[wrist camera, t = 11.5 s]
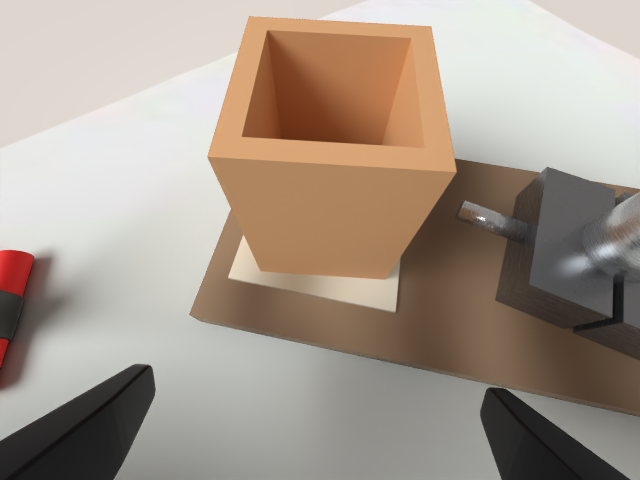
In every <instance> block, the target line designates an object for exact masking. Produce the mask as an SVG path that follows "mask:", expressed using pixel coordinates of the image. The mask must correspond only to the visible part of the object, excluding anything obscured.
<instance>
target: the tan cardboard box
mask: <svg viewBox="0 0 640 480" xmlns="http://www.w3.org/2000/svg"><path fill="white" fill-rule="evenodd" d="M207 157H208V159H209V161H210V164H211V166H212V168H213V170H214V172H215V174H216V176H217V179H218V181H219V183H220V185H221V187H222V189H223V192H224V194H225V196H226V198H227V200H228V202H229V205H230V207H231V209H232V211H233V213H234V215H235V217H236V220H237V222H238V224H239V226H240V228H241V230H242V233H243V235H244V237H245V239H246V241H247V243H248V246H249V248H250V250H251V252H252V254H253V256H254V258H255V261H256V263H257V265H258V267H259V269H260V271H261V272H275V273H291V274H306V275H321V276H336V277H351V278H367V279H382V280H385V279H386V278H387V276H388V275H389V273H390V272H391V270H392V269H393V267H394V266H395V264H396V263H397V261H398V260H399V258H400V257H401V255H402V254H403V252H404V251H405V249H406V248H407V246H408V245H409V243H410V242H411V240H412V239H413V237H414V236H415V234H416V233H417V231H418V230H419V228H420V227H421V225H422V224H423V222H424V221H425V219H426V218H427V216H428V215H429V213H430V212H431V210H432V209H433V207H434V206H435V204H436V203H437V201H438V200H439V198H440V197H441V195H442V194H443V192H444V191H445V189H446V188H447V186H448V185H449V183H450V181H451V180H452V178H453V177H454V175H455V174H456V172H457V170H456V165H455V159H454V153H453V148H452V142H451V136H450V131H449V125H448V119H447V113H446V108H445V102H444V96H443V91H442V85H441V79H440V74H439V68H438V62H437V56H436V51H435V45H434V39H433V34H432V28H431V26H414V25H396V24H378V23H360V22H342V21H324V20H306V19H288V18H269V17H253V16H249V18H248V22H247V25H246V28H245V31H244V35H243V38H242V42H241V45H240V48H239V52H238V55H237V58H236V62H235V65H234V69H233V72H232V75H231V79H230V82H229V85H228V89H227V92H226V96H225V99H224V102H223V106H222V109H221V112H220V116H219V119H218V123H217V126H216V129H215V133H214V136H213V139H212V143H211V146H210V149H209V153H208V156H207Z"/></svg>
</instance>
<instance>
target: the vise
mask: <svg viewBox="0 0 640 480" xmlns="http://www.w3.org/2000/svg"><path fill="white" fill-rule="evenodd" d="M455 219H457V220H459V221H462V222H465V223H467V224H470V225H473V226H475V227H478V228H481V229H483V230H486V231H488V232H491V233H494V234H496V235H499V236H502V237H504V238H507V244H506V248H505V253H504V258H503V263H502V268H501V273H500V278H499V283H498V288H497V292H496V297H495V301H497V302H500V303H502V304H504V305H507V306H509V307H512V308H514V309H516V310H519V311H521V312H524V313H526V314H528V315H531V316H533V317H536V318H538V319H540V320H543V321H545V322H548V323H550V324H552V325H555V326H557V327H560V328H562V329H565V328H570V327H573V332H572V333H574V334H576V335H579V336H581V337H584V338H586V339H588V340H591V341H593V342H595V343H598V344H600V345H603V346H605V347H607V348H610V349H612V350H615V351H617V352H619V353H622V354H624V355H627V356H629V357H631V358H634V359H636V360H639V361H640V192H639V193H637V194H635V195H631V194H628V193H623V194H621V195H620V196H618V197H617V198H615V189H613V188H610V187H607V186H604V185H601V184H598V183H595V182H592V181H589V180H586V179H583V178H580V177H577V176H574V175H571V174H568V173H565V172H562V171H558V170H555V169H552V168H549V167H547V168H545V169H544V170H543V171H542V172H541V173H540V174H539V175H538V176H537V177H536V178H535V179H534V180H533V181H532V182H531V183H530V184H529V185H527V186H526V187H525V188H524V189H523V190H522V191H521V192H520V193H519V194H518V195H517V196H516V200H515V205H514V209H513V214H512V217H509V216H506V215H503V214H501V213H498V212H495V211H492V210H490V209H487V208H484V207H482V206H479V205H476V204H473V203H471V202H468V201H465V200H464V201H463V202H462V203H461V205H460V206H459V208H458V210H457V213H456V216H455Z"/></svg>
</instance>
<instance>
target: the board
mask: <svg viewBox="0 0 640 480" xmlns="http://www.w3.org/2000/svg"><path fill="white" fill-rule="evenodd" d="M455 165H456V170H457V172H456V174H455V175H454V177H453V178H452V180H451V181H450V183H449V185H448V186H447V188H446V189H445V191H444V192H443V194H442V195H441V197H440V198H439V200H438V201H437V203H436V204H435V206H434V207H433V209H432V210H431V212H430V213H429V215H428V216H427V218H426V219H425V221H424V222H423V224H422V225H421V227H420V228H419V230H418V231H417V233H416V234H415V236H414V237H413V239H412V240H411V242H410V243H409V245H408V246H407V248H406V249H405V251H404V252H403V254H402V255H401V257H400V258H399V260H398V261H397V263H396V264H395V266H394V267H393V269H392V270H391V272H390V273H389V275H388V276H387V278H386V279H385V280H382V279H367V278H351V277H336V276H321V275H306V274H291V273H275V272H261V271H260V269H259V267H258V265H257V263H256V261H255V258H254V256H253V254H252V252H251V250H250V248H249V246H248V243H247V241H246V239H245V237H244V235H243V233H242V230H241V228H240V226H239V224H238V222H237V220H236V217H235V215H234V213H233V211H232V209H231V210H230V213H229V215H228V218H227V220H226V223H225V226H224V228H223V231H222V233H221V236H220V238H219V241H218V243H217V246H216V248H215V251H214V253H213V256H212V258H211V261H210V263H209V266H208V269H207V271H206V274H205V276H204V279H203V281H202V284H201V286H200V289H199V291H198V294H197V296H196V299H195V301H194V304H193V306H192V309H191V312H190V314H189V315H191V316H192V317H194V318H196V319H198V320H199V321H202V322H207V323H211V324H216V325H220V326H225V327H230V328H234V329H239V330H243V331H248V332H253V333H257V334H262V335H266V336H271V337H276V338H280V339H285V340H289V341H294V342H299V343H303V344H308V345H312V346H317V347H322V348H326V349H331V350H335V351H340V352H345V353H349V354H354V355H358V356H363V357H368V358H372V359H377V360H381V361H386V362H391V363H395V364H400V365H405V366H409V367H414V368H418V369H423V370H428V371H432V372H437V373H441V374H446V375H451V376H455V377H460V378H464V379H469V380H474V381H478V382H483V383H487V384H492V385H497V386H501V387H506V388H510V389H515V390H520V391H524V392H529V393H533V394H538V395H543V396H547V397H552V398H556V399H561V400H566V401H570V402H575V403H579V404H584V405H589V406H593V407H598V408H602V409H607V410H612V411H616V412H621V413H626V414H630V415H635V416H639V417H640V361H639V360H636V359H634V358H631V357H629V356H627V355H624V354H622V353H619V352H617V351H615V350H612V349H610V348H607V347H605V346H603V345H600V344H598V343H595V342H593V341H591V340H588V339H586V338H584V337H581V336H579V335H576V334H574V333H572V332H573V327H570V328H565V329H562V328H560V327H557V326H555V325H552V324H550V323H548V322H545V321H543V320H540V319H538V318H536V317H533V316H531V315H528V314H526V313H524V312H521V311H519V310H516V309H514V308H512V307H509V306H507V305H504V304H502V303H500V302H497V301H495V297H496V292H497V288H498V283H499V278H500V273H501V268H502V263H503V258H504V253H505V248H506V244H507V238H504V237H502V236H499V235H496V234H494V233H491V232H488V231H486V230H483V229H481V228H478V227H475V226H473V225H470V224H467V223H465V222H462V221H459V220H457V219H455V216H456V213H457V210H458V208H459V206H460V205H461V203H462V202H463V201H464V200H465V201H468V202H471V203H473V204H476V205H479V206H482V207H484V208H487V209H490V210H492V211H495V212H498V213H501V214H503V215H506V216H509V217H512V214H513V209H514V205H515V200H516V196H517V195H518V194H519V193H520V192H521V191H522V190H523V189H524V188H525V187H526V186H527V185H529V184H530V183H531V182H532V181H533V180H534V179H535V178H536V177H537V176H538V175H539V174H540V173H539V172H533V171H527V170H520V169H514V168H508V167H502V166H496V165H490V164H484V163H478V162H472V161H466V160H460V159H455ZM592 182H593V181H592ZM595 183H598V184H601V185H604V186H607V187H610V188H613V189H615V198H617V197H618V196H620V195H621V194H623V193H628V194H631V195H635V194H637V193H639V192H640V189H635V188H629V187H623V186H617V185H611V184H605V183H599V182H595Z"/></svg>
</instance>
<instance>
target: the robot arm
mask: <svg viewBox="0 0 640 480" xmlns="http://www.w3.org/2000/svg"><path fill="white" fill-rule="evenodd" d="M154 396H155V382H154V375H153V369H152V367H151V366H150V365H146V364H134V365H132V366H130V367H128V368H127V369H125V370H123V371H121V372H120V373H118V374H116V375H115V376H113V377H111V378H109V379H108V380H106V381H104V382H102V383H101V384H99V385H97V386H95V387H94V388H92V389H90V390H88V391H87V392H85V393H83V394H81V395H80V396H78V397H76V398H74V399H73V400H71V401H69V402H67V403H66V404H64V405H62V406H60V407H59V408H57V409H55V410H53V411H52V412H50V413H48V414H46V415H45V416H43V417H41V418H39V419H38V420H36V421H34V422H32V423H31V424H29V425H27V426H25V427H24V428H22V429H20V430H18V431H17V432H15V433H13V434H11V435H10V436H8V437H6V438H4V439H3V440H1V441H0V480H113V479H114V478H115V476H116V474H117V473H118V471H119V469H120V467H121V465H122V464H123V462H124V460H125V458H126V456H127V454H128V452H129V450H130V448H131V446H132V444H133V441H134V439H135V437H136V435H137V433H138V431H139V429H140V426H141V424H142V422H143V420H144V418H145V416H146V414H147V411H148V409H149V407H150V405H151V403H152V401H153V398H154ZM480 417H481V421H482V424H483V427H484V430H485V433H486V436H487V439H488V441H489V444H490V447H491V450H492V453H493V456H494V459H495V462H496V465H497V467H498V470H499V473H500V476H501V479H502V480H630V479H629V478H627V477H626V476H625V475H623V474H622V473H620V472H619V471H618V470H616V469H615V468H614V467H612V466H611V465H609V464H608V463H607V462H605V461H604V460H603V459H601V458H600V457H598V456H597V455H596V454H594V453H593V452H592V451H590V450H589V449H587V448H586V447H585V446H583V445H582V444H581V443H579V442H578V441H576V440H575V439H574V438H572V437H571V436H570V435H568V434H567V433H566V432H564V431H563V430H561V429H560V428H559V427H557V426H556V425H555V424H553V423H552V422H550V421H549V420H548V419H546V418H545V417H544V416H542V415H541V414H539V413H538V412H537V411H535V410H534V409H533V408H531V407H530V406H528V405H527V404H526V403H524V402H523V401H522V400H520V399H519V398H517V397H516V396H515V395H513V394H512V393H511V392H509V391H508V390H506V389H504V388H494V387H490V388H488V389H487V390H486V393H485V396H484V400H483V403H482V407H481V411H480Z"/></svg>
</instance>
